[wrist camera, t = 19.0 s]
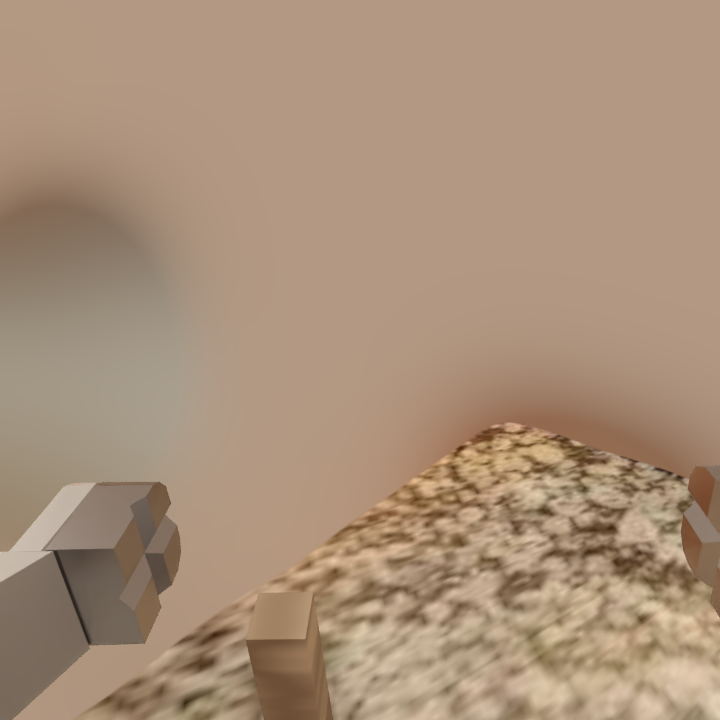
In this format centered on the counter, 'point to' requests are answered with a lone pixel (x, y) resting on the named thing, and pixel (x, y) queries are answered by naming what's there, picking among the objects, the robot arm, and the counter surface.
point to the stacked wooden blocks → (288, 657)
